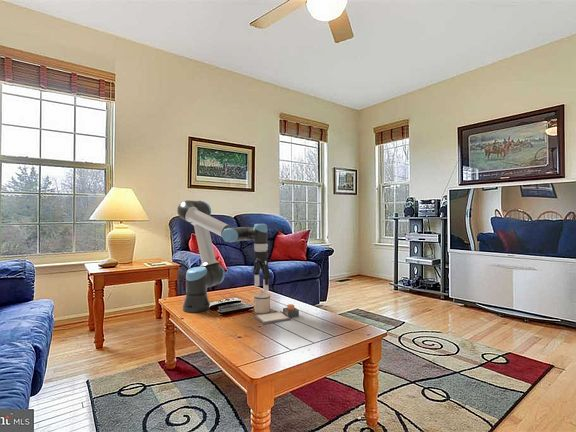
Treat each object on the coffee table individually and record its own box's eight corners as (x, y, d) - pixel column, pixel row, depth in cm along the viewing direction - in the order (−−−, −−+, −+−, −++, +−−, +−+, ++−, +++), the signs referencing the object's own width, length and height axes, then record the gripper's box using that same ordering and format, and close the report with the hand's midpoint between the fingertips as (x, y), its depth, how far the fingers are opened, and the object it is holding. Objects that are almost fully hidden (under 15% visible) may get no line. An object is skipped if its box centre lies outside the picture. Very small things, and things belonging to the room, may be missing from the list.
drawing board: (254, 316, 172) (254, 315, 172) (280, 312, 179) (280, 311, 179) (263, 324, 160) (263, 322, 160) (290, 319, 167) (290, 318, 167)
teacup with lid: (273, 311, 181) (273, 291, 181) (260, 314, 175) (260, 293, 175) (260, 306, 190) (260, 287, 190) (248, 309, 184) (248, 289, 184)
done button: (286, 310, 175) (286, 304, 175) (292, 309, 177) (292, 304, 177) (289, 312, 172) (289, 306, 172) (295, 311, 174) (295, 305, 174)
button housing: (282, 314, 176) (282, 308, 176) (293, 313, 179) (293, 306, 179) (288, 318, 170) (288, 311, 170) (298, 316, 173) (298, 309, 173)
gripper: (276, 252, 173) (276, 292, 173) (259, 248, 195) (259, 283, 195) (263, 253, 170) (263, 293, 170) (247, 249, 192) (247, 284, 192)
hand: (261, 288), depth 183 cm, fingers open, 13 cm apart
